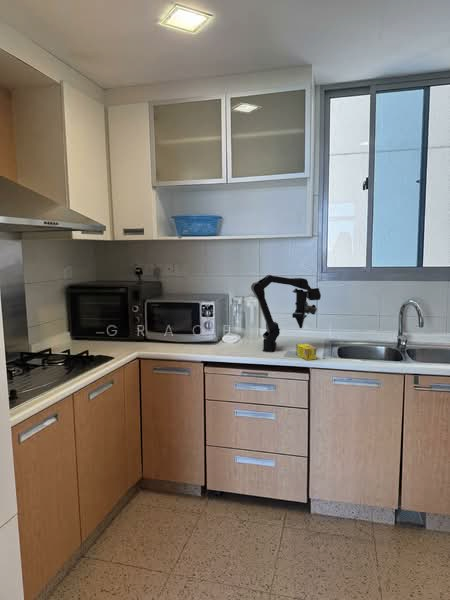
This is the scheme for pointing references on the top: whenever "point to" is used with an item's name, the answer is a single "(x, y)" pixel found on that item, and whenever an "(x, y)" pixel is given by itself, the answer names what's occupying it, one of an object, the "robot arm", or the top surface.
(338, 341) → the top surface
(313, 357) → the supplement box
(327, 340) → the top surface
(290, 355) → the mat
